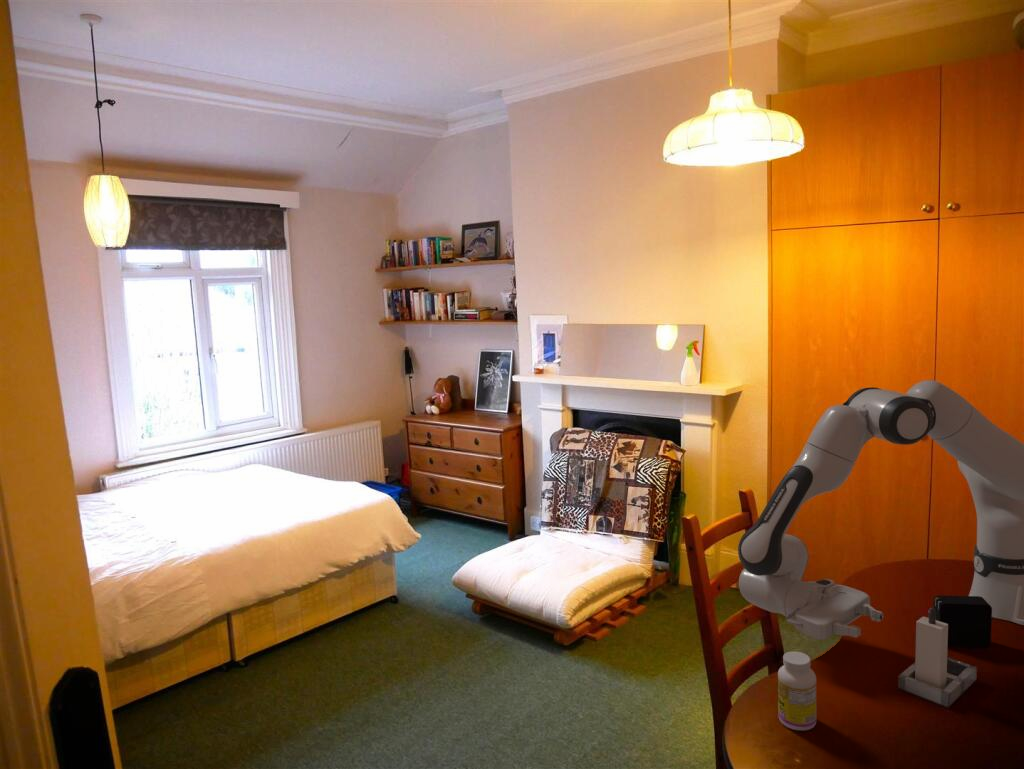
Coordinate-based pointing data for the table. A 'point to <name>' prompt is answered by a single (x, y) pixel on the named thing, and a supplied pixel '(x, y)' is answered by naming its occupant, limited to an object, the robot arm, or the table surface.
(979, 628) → the electronic device
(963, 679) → the socket box
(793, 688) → the supplement bottle
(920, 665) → the plug
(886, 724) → the table surface
